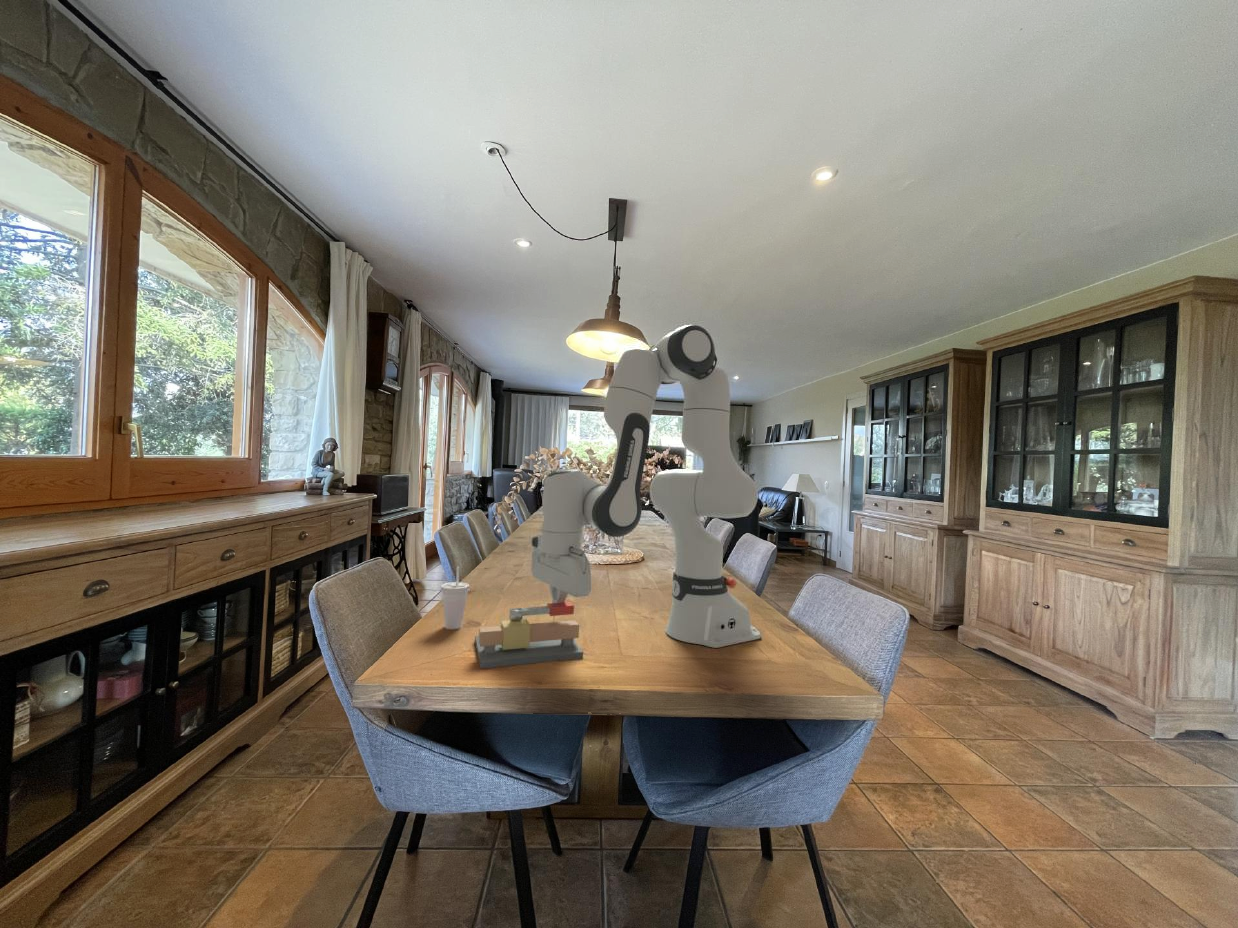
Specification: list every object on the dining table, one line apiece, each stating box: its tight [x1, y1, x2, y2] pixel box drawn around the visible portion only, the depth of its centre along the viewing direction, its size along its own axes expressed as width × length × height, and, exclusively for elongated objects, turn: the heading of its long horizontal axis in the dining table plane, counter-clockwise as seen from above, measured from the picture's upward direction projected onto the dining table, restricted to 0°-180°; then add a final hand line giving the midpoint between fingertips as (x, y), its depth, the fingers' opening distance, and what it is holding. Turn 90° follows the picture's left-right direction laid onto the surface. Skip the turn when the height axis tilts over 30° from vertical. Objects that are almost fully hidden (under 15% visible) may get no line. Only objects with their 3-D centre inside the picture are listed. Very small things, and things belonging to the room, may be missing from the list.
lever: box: [508, 601, 575, 621], centre depth 102 cm, size 13×3×2 cm, turn 113°
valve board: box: [474, 618, 584, 669], centre depth 102 cm, size 20×14×7 cm
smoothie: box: [440, 566, 470, 630], centre depth 114 cm, size 6×6×14 cm
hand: (558, 607), depth 106 cm, fingers closed
